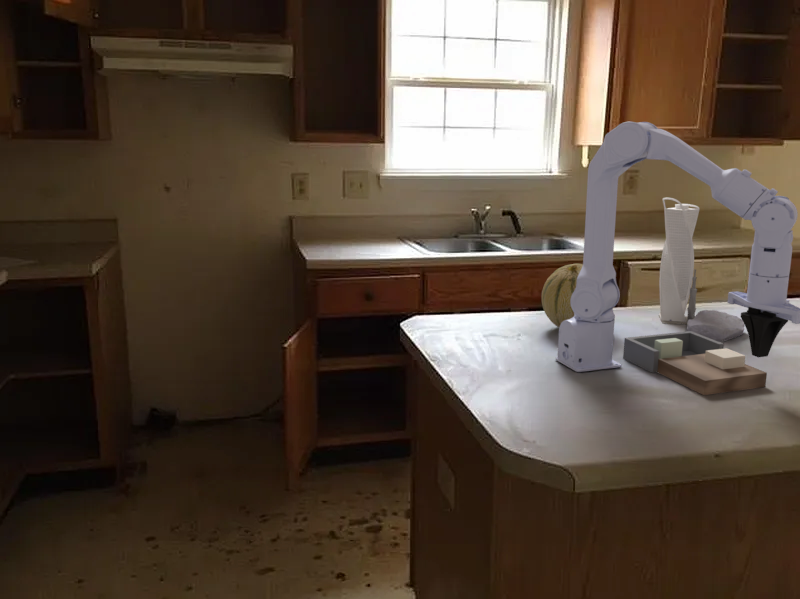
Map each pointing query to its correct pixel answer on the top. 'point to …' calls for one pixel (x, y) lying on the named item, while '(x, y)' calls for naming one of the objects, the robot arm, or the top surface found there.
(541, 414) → the top surface
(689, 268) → the skyscraper
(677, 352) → the sage tile
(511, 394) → the top surface
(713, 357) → the cream tile
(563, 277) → the cantaloupe
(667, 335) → the box
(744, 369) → the walnut board
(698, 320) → the stone block
